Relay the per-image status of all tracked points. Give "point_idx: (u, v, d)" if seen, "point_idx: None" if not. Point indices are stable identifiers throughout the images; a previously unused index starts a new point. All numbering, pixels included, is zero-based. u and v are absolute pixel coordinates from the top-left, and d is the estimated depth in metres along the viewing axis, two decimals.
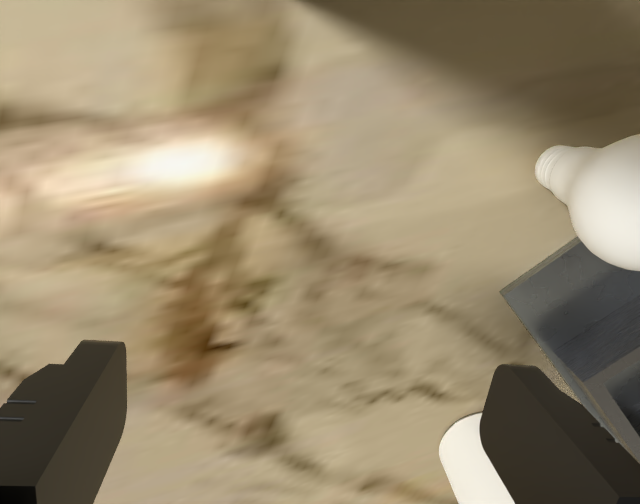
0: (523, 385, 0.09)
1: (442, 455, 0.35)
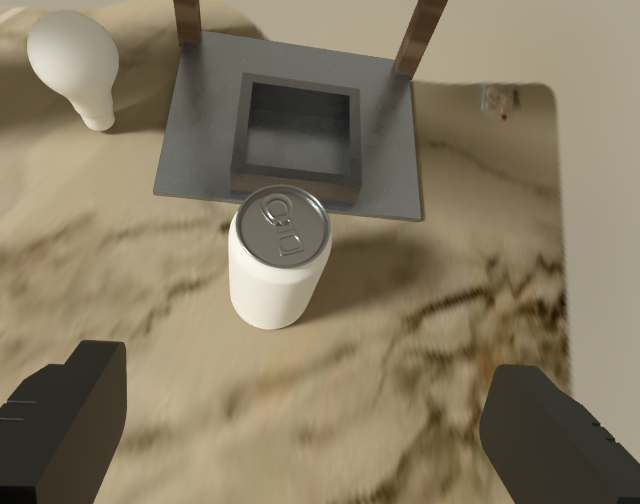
0: (523, 385, 0.09)
1: (242, 315, 0.35)
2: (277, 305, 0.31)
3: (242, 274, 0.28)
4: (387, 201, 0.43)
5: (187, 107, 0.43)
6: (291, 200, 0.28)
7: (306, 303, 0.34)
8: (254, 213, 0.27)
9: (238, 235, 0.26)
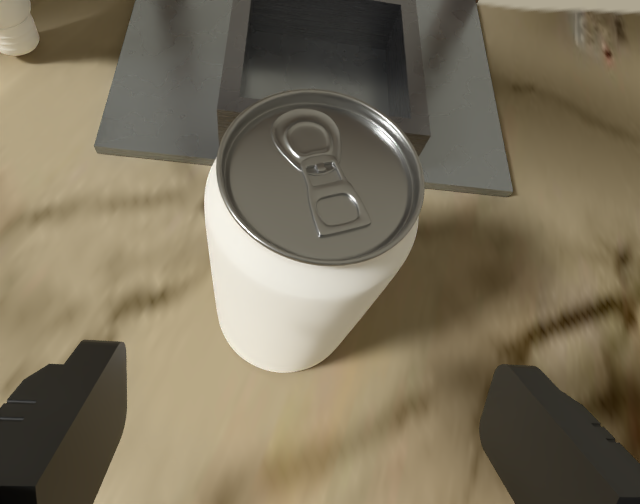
0: (523, 385, 0.09)
1: (237, 350, 0.20)
2: (304, 340, 0.16)
3: (233, 280, 0.13)
4: (461, 165, 0.28)
5: (154, 26, 0.29)
6: (335, 123, 0.13)
7: None
8: (260, 146, 0.13)
9: (222, 190, 0.11)
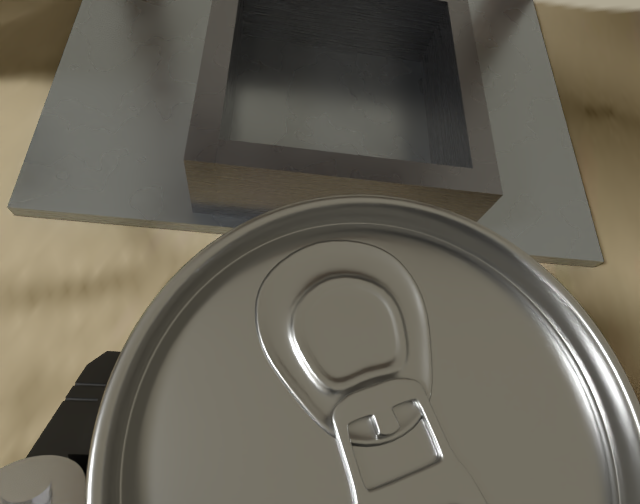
0: None
1: None
2: None
3: None
4: (531, 224, 0.20)
5: (108, 31, 0.21)
6: (413, 279, 0.06)
7: None
8: (225, 363, 0.05)
9: None
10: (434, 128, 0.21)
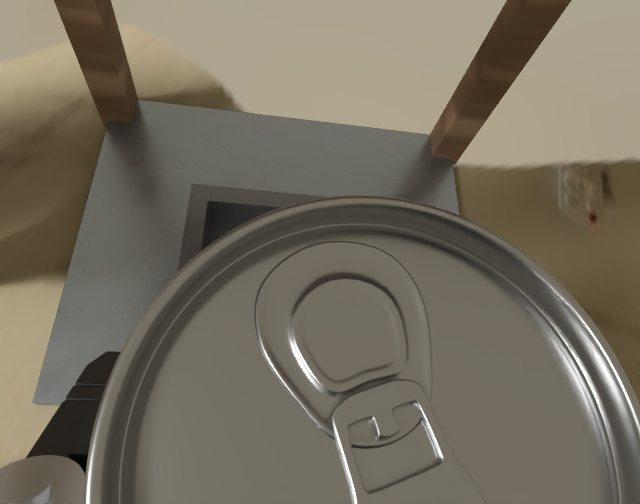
0: None
1: None
2: None
3: None
4: None
5: (106, 235, 0.27)
6: (413, 280, 0.05)
7: None
8: (224, 365, 0.05)
9: None
10: None
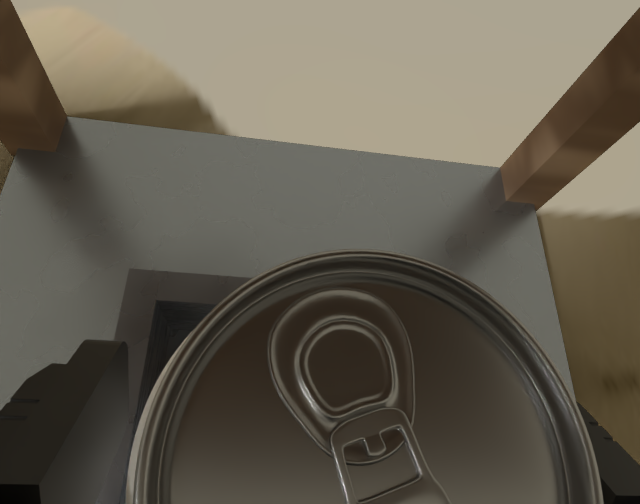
0: None
1: None
2: None
3: None
4: None
5: None
6: (401, 321, 0.07)
7: None
8: (242, 395, 0.06)
9: None
10: None
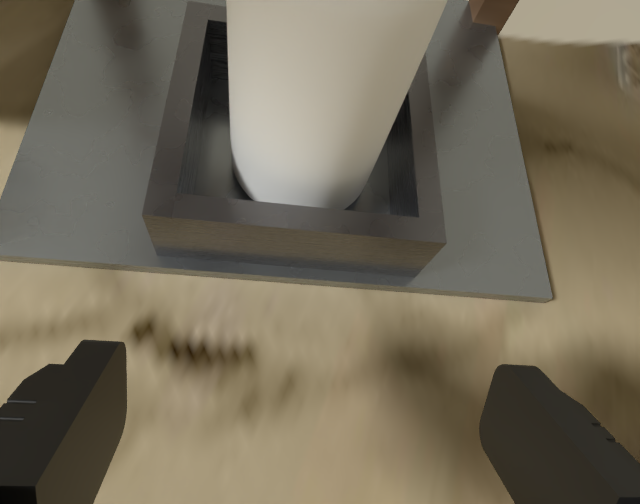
0: (523, 385, 0.09)
1: (252, 190, 0.19)
2: (329, 128, 0.15)
3: (256, 16, 0.12)
4: (484, 262, 0.21)
5: (82, 76, 0.22)
6: None
7: (374, 157, 0.18)
8: None
9: None
10: (392, 169, 0.22)
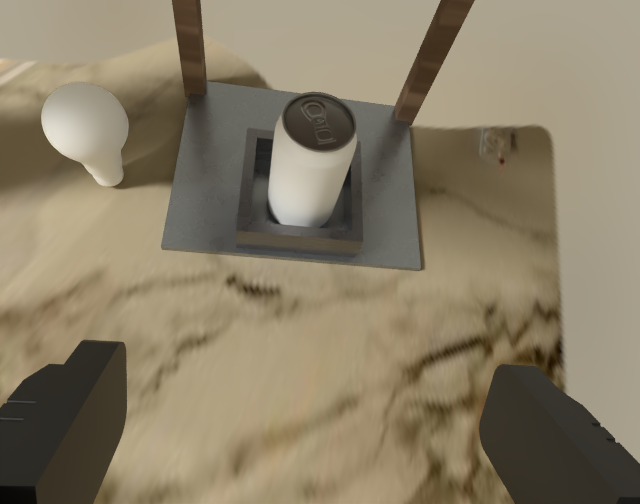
0: (523, 385, 0.09)
1: (278, 217, 0.42)
2: (311, 197, 0.37)
3: (285, 164, 0.35)
4: (388, 251, 0.44)
5: (193, 160, 0.45)
6: (324, 105, 0.35)
7: (333, 204, 0.41)
8: (296, 113, 0.34)
9: (284, 127, 0.33)
10: (345, 206, 0.44)
